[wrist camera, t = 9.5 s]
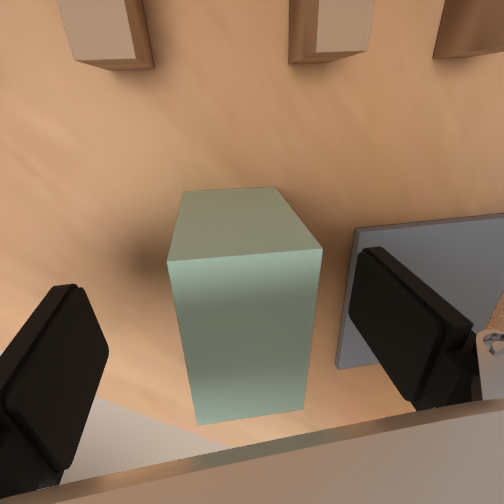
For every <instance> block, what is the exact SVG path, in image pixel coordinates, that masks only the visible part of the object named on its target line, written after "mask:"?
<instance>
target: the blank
mask: <svg viewBox="0 0 504 504" xmlns="http://www.w3.org/2000/svg"><path fill="white" fill-rule="evenodd" d="M322 252H323V248H322V247H321V245H320V244H319V243H318V242H317V240H316V239H315V238H314V236H313V235H312V234H311V233H310V231H309V230H308V229H307V227H306V226H305V225H304V223H303V222H302V221H301V220H300V218H299V217H298V216H297V214H296V213H295V212H294V211H293V209H292V208H291V207H290V205H289V204H288V203H287V202H286V200H285V199H284V198H283V196H282V195H281V194H280V192H279V191H278V190H277V189H276V187H275V186H273V187H255V188H237V189H218V190H200V191H183V195H182V199H181V204H180V208H179V212H178V216H177V220H176V224H175V229H174V233H173V237H172V241H171V245H170V250H169V254H168V258H167V266H168V272H169V277H170V282H171V288H172V293H173V298H174V303H175V309H176V314H177V319H178V325H179V330H180V335H181V341H182V346H183V351H184V357H185V362H186V367H187V372H188V378H189V383H190V388H191V394H192V399H193V404H194V410H195V415H196V420H197V426H198V425H204V424H211V423H217V422H224V421H231V420H237V419H244V418H250V417H257V416H263V415H270V414H277V413H283V412H290V411H296V410H303V407H304V399H305V391H306V382H307V374H308V366H309V358H310V350H311V342H312V334H313V325H314V317H315V309H316V301H317V293H318V285H319V277H320V268H321V260H322Z"/></svg>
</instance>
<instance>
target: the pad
mask: <svg viewBox="0 0 504 504" xmlns="http://www.w3.org/2000/svg"><path fill="white" fill-rule="evenodd" d="M377 246H381V247H383V248H384V249H385V250H386V251H388V252H389V253H390V254H391V255H392V256H394V257H395V258H396V259H397V260H398V261H400V262H401V263H402V264H403V265H404V266H405V267H407V268H408V269H409V270H410V271H411V272H413V273H414V274H415V275H416V276H417V277H419V278H420V279H421V280H422V281H423V282H425V283H426V284H427V285H428V286H429V287H431V288H432V289H433V290H434V291H435V292H437V293H438V294H439V295H440V296H441V297H442V298H444V299H445V300H446V301H447V302H448V303H450V304H451V305H452V306H453V307H454V308H456V309H457V310H458V311H459V312H460V313H462V314H463V315H464V316H465V317H466V318H468V319H469V320H470V321H471V322H472V323H474V325H473V327H472V331H473V332H475V333H476V334H478V333H479V332H480V331H483V330H485V328H486V325H487V323H488V321H489V319H490V317H491V315H492V313H493V311H494V309H495V307H496V305H497V303H498V301H499V299H500V297H501V295H502V293H503V291H504V213H501V214H491V215H482V216H472V217H462V218H452V219H442V220H433V221H423V222H413V223H403V224H393V225H383V226H374V227H364V228H355V234H354V241H353V247H352V254H351V261H350V267H349V274H348V281H347V287H346V294H345V301H344V307H343V314H342V320H341V327H340V334H339V340H338V347H337V354H336V360H335V364H336V367H337V369H338V370H339V369H346V368H352V367H358V366H365V365H371V364H378V363H380V362H379V361H378V359H377V358H376V357H375V355H374V354H373V352H372V351H371V349H370V348H369V346H368V345H367V343H366V342H365V340H364V339H363V337H362V336H361V334H360V333H359V331H358V330H357V328H356V327H355V325H354V324H353V322H352V321H351V319H350V317H349V314H348V308H349V302H350V296H351V290H352V284H353V279H354V273H355V267H356V261H357V256H358V254H359V253H360V252H362V250H363V249H364V248H369V247H377Z"/></svg>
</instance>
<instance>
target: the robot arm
mask: <svg viewBox="0 0 504 504" xmlns="http://www.w3.org/2000/svg"><path fill="white" fill-rule="evenodd" d="M348 314H349V317H350V319H351V321H352V322H353V324H354V325H355V327H356V328H357V330H358V331H359V333H360V334H361V336H362V337H363V339H364V340H365V342H366V343H367V345H368V346H369V348H370V349H371V351H372V352H373V354H374V355H375V357H376V358H377V359H378V361H379V362H380V364H381V365H382V367H383V368H384V370H385V371H386V373H387V374H388V376H389V377H390V379H391V380H392V382H393V383H394V385H395V386H396V388H397V389H398V391H399V392H400V394H401V395H402V397H403V398H404V399H405V400H406V401H410V402H411V403H412V405H413V406H414V408H415V409H416V412H411V413H406V414H401V415H396V416H391V417H386V418H381V419H376V420H371V421H366V422H361V423H356V424H351V425H346V426H341V427H336V428H331V429H326V430H321V431H316V432H311V433H306V434H301V435H296V436H291V437H286V438H281V439H276V440H271V441H267V442H262V443H257V444H252V445H247V446H242V447H237V448H232V449H228V450H223V451H218V452H213V453H208V454H203V455H198V456H194V457H189V458H184V459H179V460H175V461H170V462H165V463H161V464H156V465H151V466H146V467H141V468H136V469H132V470H127V471H122V472H117V473H113V474H108V475H103V476H98V477H94V478H89V479H85V480H80V481H76V482H71V483H67V484H63V485H59V484H60V481H61V478H62V475H63V473H64V470H66V469H68V468H69V467H70V466H71V464H72V461H73V459H74V456H75V453H76V450H77V447H78V444H79V441H80V438H81V436H82V432H83V430H84V427H85V423H86V421H87V418H88V415H89V412H90V409H91V406H92V403H93V400H94V397H95V394H96V391H97V388H98V386H99V383H100V380H101V377H102V374H103V371H104V368H105V365H106V362H107V359H108V355H109V348H108V344H107V342H106V340H105V337H104V335H103V332H102V330H101V328H100V325H99V323H98V321H97V318H96V316H95V314H94V311H93V309H92V307H91V304H90V302H89V299H88V297H87V295H86V292H85V290H84V289H83V288H81V287H80V288H78V286H77V285H76V284H67V285H59V286H53V287H52V288H51V289H50V291H49V292H48V293H47V295H46V296H45V297H44V299H43V300H42V301H41V303H40V304H39V305H38V307H37V308H36V309H35V311H34V312H33V313H32V315H31V316H30V317H29V319H28V320H27V321H26V323H25V324H24V325H23V327H22V328H21V329H20V331H19V332H18V333H17V335H16V336H15V337H14V339H13V340H12V341H11V343H10V344H9V345H8V347H7V348H6V349H5V351H4V352H3V353H2V355H1V356H0V504H504V331H502V330H497V329H487V330H483V331H480V332H479V333H478V334H476V333H475V332H473V331H472V327H473V325H474V323H472V322H471V321H470V320H469V319H468V318H466V317H465V316H464V315H463V314H462V313H460V312H459V311H458V310H457V309H456V308H454V307H453V306H452V305H451V304H450V303H448V302H447V301H446V300H445V299H444V298H442V297H441V296H440V295H439V294H438V293H437V292H435V291H434V290H433V289H432V288H431V287H429V286H428V285H427V284H426V283H425V282H423V281H422V280H421V279H420V278H419V277H417V276H416V275H415V274H414V273H413V272H411V271H410V270H409V269H408V268H407V267H405V266H404V265H403V264H402V263H401V262H400V261H398V260H397V259H396V258H395V257H394V256H392V255H391V254H390V253H389V252H388V251H386V250H385V249H384V248H383V247H381V246H377V247H369V248H364V249H363V250H362V252H360V253H359V254H358V256H357V261H356V267H355V273H354V279H353V284H352V290H351V296H350V302H349V308H348ZM434 407H435V408H434ZM57 485H58V486H57ZM52 486H54V487H52ZM47 487H49V488H47ZM42 488H45V489H42ZM37 489H41V490H37Z"/></svg>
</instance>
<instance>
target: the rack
mask: <svg viewBox="0 0 504 504" xmlns="http://www.w3.org/2000/svg"><path fill="white" fill-rule="evenodd" d="M57 3H58V7H59V10H60V13H61V17H62V20H63V24H64V27H65V31H66V34H67V37H68V41H69V44H70V48H71V51H72V55H73V58H74V60H75V61H78V62H82V63H85V64H89V65H92V66H96V67H99V68H103V69H107V70H134V69H154V63H153V58H152V52H151V47H150V41H149V35H148V30H147V24H146V18H145V13H144V7H143V2H142V0H57ZM373 8H374V0H290V2H289V58H288V64H296V63H323V62H331V61H334V60H337V59H341V58H344V57H348V56H351V55H355V54H358V53H362V52H365V51H368V46H369V38H370V31H371V23H372V15H373ZM498 52H504V0H446V2H445V6H444V11H443V15H442V20H441V24H440V29H439V33H438V37H437V42H436V46H435V51H434V55H433V58H459V57H472V56H479V55H485V54H492V53H498Z"/></svg>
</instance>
